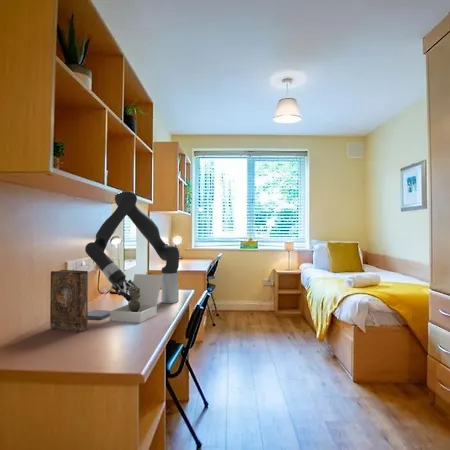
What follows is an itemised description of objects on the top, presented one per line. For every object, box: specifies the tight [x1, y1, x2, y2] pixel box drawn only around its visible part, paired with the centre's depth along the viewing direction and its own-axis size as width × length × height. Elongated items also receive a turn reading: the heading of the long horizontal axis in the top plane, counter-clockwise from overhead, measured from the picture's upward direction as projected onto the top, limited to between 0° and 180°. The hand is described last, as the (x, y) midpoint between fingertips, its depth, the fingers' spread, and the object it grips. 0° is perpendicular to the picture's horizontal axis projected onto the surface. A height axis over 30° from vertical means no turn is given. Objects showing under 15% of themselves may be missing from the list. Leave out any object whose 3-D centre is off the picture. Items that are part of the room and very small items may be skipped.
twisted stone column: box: [127, 287, 140, 312], centre depth 176 cm, size 6×6×15 cm
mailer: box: [109, 273, 163, 324], centre depth 179 cm, size 23×16×19 cm
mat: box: [88, 309, 111, 321], centre depth 179 cm, size 12×12×2 cm
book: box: [49, 269, 89, 333], centre depth 156 cm, size 16×6×25 cm, turn 70°
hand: (134, 298), depth 176 cm, fingers open, 8 cm apart
